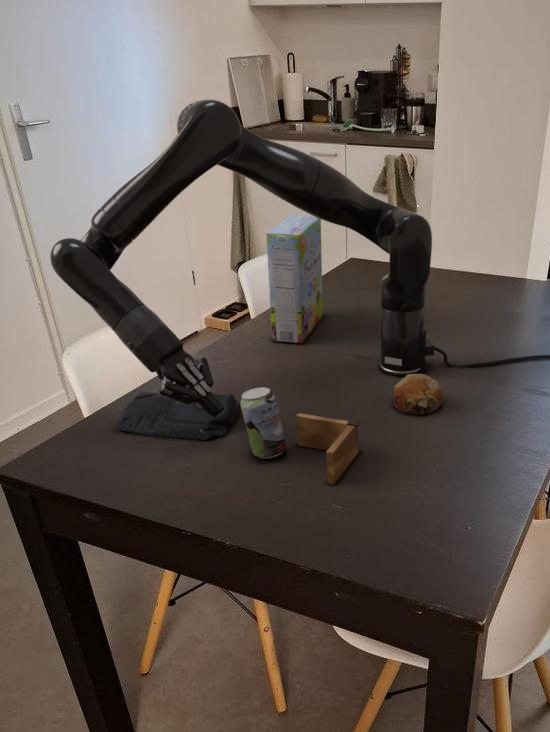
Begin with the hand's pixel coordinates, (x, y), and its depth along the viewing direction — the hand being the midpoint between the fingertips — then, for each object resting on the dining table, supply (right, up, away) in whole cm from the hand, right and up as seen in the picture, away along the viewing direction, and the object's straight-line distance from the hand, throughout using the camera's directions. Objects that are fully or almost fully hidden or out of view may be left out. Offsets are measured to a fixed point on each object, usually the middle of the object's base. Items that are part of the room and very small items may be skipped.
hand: (219, 413), depth 121 cm
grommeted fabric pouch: (-10, 0, +13) cm, 16 cm away
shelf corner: (+18, -9, -2) cm, 20 cm away
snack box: (+9, +27, +55) cm, 62 cm away
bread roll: (+36, +3, +17) cm, 40 cm away
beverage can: (+8, -7, +1) cm, 11 cm away
